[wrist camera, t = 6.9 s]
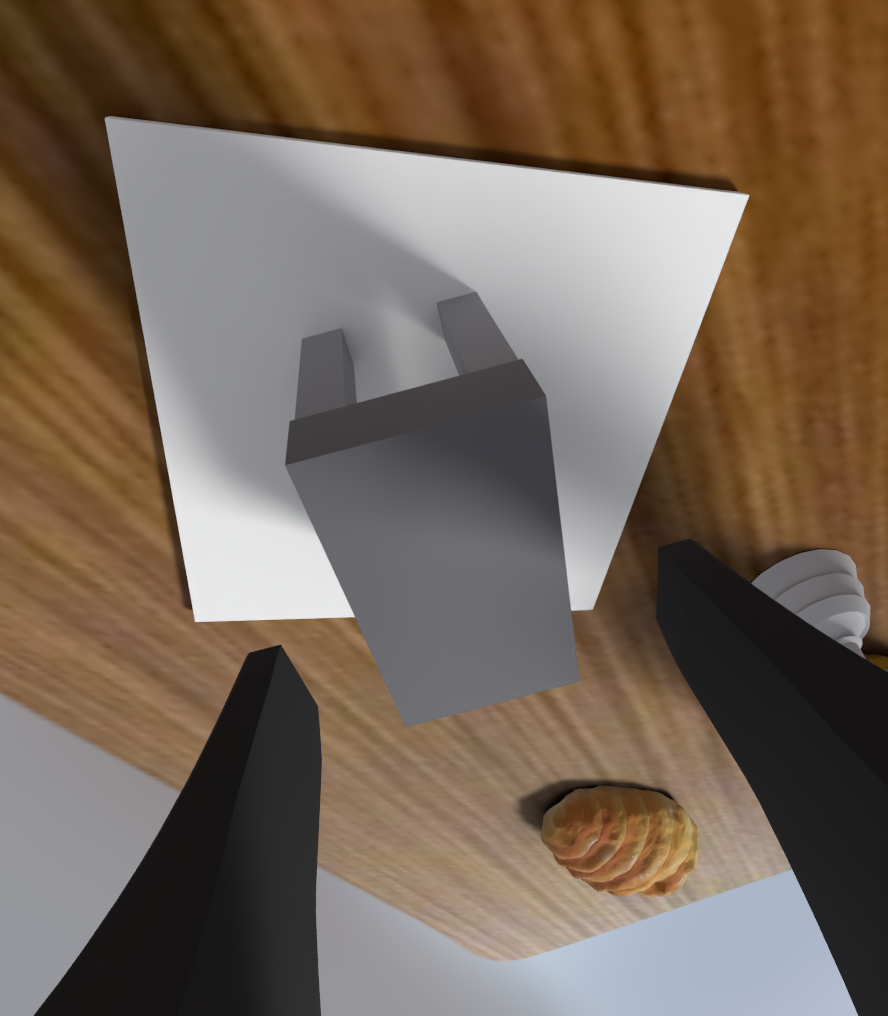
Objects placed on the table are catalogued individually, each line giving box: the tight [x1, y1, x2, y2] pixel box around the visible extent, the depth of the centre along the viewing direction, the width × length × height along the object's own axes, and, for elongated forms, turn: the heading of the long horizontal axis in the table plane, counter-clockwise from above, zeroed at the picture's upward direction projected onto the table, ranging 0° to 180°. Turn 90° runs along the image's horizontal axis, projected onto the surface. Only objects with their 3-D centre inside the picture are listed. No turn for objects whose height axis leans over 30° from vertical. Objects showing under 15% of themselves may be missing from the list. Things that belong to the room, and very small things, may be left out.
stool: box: [285, 292, 579, 727], centre depth 15 cm, size 8×4×6 cm, turn 12°
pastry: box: [541, 785, 699, 897], centre depth 33 cm, size 9×7×4 cm
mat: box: [105, 116, 749, 622], centre depth 17 cm, size 14×14×1 cm
